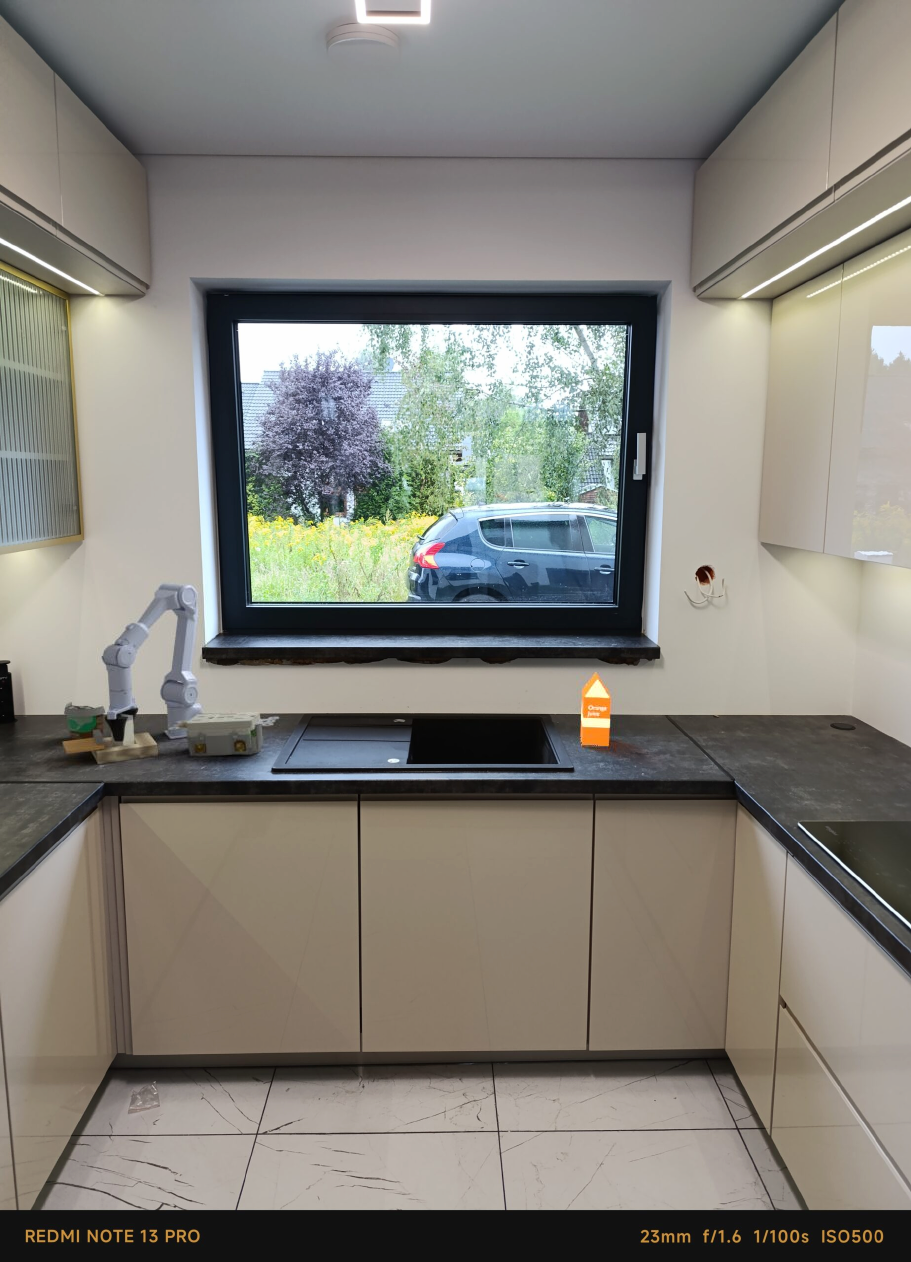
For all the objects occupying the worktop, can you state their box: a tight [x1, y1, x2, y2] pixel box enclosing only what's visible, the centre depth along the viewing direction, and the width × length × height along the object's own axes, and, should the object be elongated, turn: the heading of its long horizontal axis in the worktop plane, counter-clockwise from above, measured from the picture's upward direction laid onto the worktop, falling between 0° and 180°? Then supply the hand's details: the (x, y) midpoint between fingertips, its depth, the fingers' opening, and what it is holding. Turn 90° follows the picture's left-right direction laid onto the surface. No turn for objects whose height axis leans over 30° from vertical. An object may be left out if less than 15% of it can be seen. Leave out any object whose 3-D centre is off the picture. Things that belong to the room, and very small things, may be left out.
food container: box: [63, 702, 106, 741], centre depth 237 cm, size 12×6×10 cm, turn 71°
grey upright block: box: [110, 714, 135, 747], centre depth 227 cm, size 4×4×8 cm
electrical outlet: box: [167, 711, 280, 757], centre depth 230 cm, size 12×28×10 cm, turn 87°
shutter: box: [62, 729, 104, 755], centre depth 222 cm, size 9×9×3 cm
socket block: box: [90, 731, 159, 765], centre depth 228 cm, size 15×13×3 cm
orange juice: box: [580, 672, 612, 746], centre depth 240 cm, size 8×9×20 cm
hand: (123, 737), depth 227 cm, fingers closed on grey upright block, 5 cm apart
